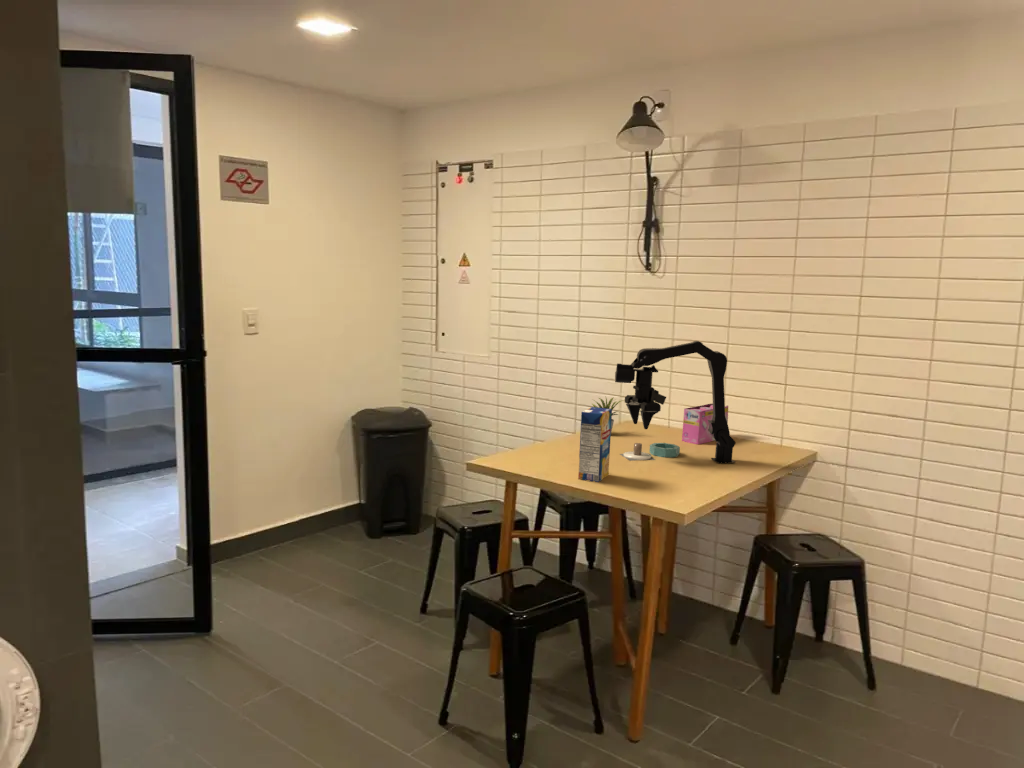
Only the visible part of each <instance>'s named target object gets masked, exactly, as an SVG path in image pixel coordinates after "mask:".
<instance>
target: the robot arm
mask: <svg viewBox="0 0 1024 768" xmlns="http://www.w3.org/2000/svg"><path fill="white" fill-rule="evenodd" d="M691 354H698V355H699V356H701V357H703V358H704V359H706V361H707V365H708V369H709V372H710V377H711V387H712V388H711V389H712V392H711V394H712V403H713V418H712V420H708V423H709V429H708V431H709V432H710V434H711V435H712V437H713V438H714V439H715V440H714V441H715V455H714V457H711V458H710V459H711V460H712V461H714V462H716V463H718V464H736V461H735V460H733V452H734V451H733V450H734V449H733V448H735V445H736V443H737V442H736V441H735V439H733V438H732V436H731V435H730V434H731V433H730V429H729V424H727V420H726V417H725V406H726V403H725V402H726V401H725V375H726V371H727V367H728V366H727V365H728V358H727V356H726V355H725V354H724V353H723V352H721V351H718V350H712V349H711V348H709V347H708V346H707V345H705V344H704V343H703V342H702V341H699V340H694V341H692V342H691V341H690V342H687V343H682V344H676V345H672V346H667V347H660V348H657V347H655V348H653V347H652V348H651V347H648V348H647V347H646V348H642V349H639V350H638V352H637V354H636V358H635V359H634V360H633V361H632V362H631V364H625V363H624V364H623V363H616V368H615V372H614V382H615V383H621V384H631V383H632V382H634V381H635V384H634V385H633V386H632V388H633V389H634V394H633V395H632V394H627V395H626V396H625V397H624V400H625V401H624V403H625V405H626V407H627V410H628V413H629V415H630V417H631V421H632V423H633V424H634V425H637V424H638V422H639V421H638V420H639V416H641V420H642V421H641V422H642V425H643V429H644V430H648V428H649V427H650V425H651V424H650V423H651V421H652V419H653V417H654V416H655V415H656V414H658V413H659V412H661V408H662V407H661V405H663V406H664V404H665V402H666V400H667V396H665V395H662V394H660V393H659V390H658V389H657V390H656V389H655V388H654V387H653V386H652V385H653V373H659V370H658V368H656V366H655V365H654V364H657V363H660V361H664V360H667V359H671V358H676V357H677V358H678V357H681V356H686V355H691ZM635 374H636V375H635Z"/></svg>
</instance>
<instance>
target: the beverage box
mask: <svg viewBox="0 0 1024 768" xmlns="http://www.w3.org/2000/svg"><path fill="white" fill-rule="evenodd" d="M597 407H598V406H597ZM597 407H594V406H592V407H588V408H587V409H585V410H583V411H581V414H580V415H581V417H580V437H579V453H578V478H577V480H579V479H583V480H582V481H586V480H590V481H589V482H593V481H595V483H600V482H601V481H602V480H604V479H605V478H606V477H608V476H609V473H610V457H611V456H610V455H611V453H610V452H611V451H610V450H611V435H612V432H611V419H613V418H612V417H613V416H612V413H613V410H612V409H611V408H609V409H606V408H600V407H598V408H597ZM604 477H605V478H604ZM603 478H604V479H603ZM599 481H600V482H599Z"/></svg>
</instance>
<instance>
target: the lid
mask: <svg viewBox="0 0 1024 768" xmlns="http://www.w3.org/2000/svg"><path fill="white" fill-rule="evenodd" d="M642 449H643V444H642V443H640V442H639V443H638V442H634V443H633V451H626V452H623V453H622V454H623V456H624V457H623V456H622V457H623V458H625V459H626V458H628V459H633V460H636V461H650V460H649V459H651V457H652V454H651V453H648V452H644V451H642ZM628 459H627V460H628Z"/></svg>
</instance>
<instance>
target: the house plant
mask: <svg viewBox="0 0 1024 768" xmlns="http://www.w3.org/2000/svg"><path fill="white" fill-rule="evenodd" d="M591 400H593V401H594V402H595V403H596V404H597V405H598V406H597V405H596V404H594V403H591V405H592V407H597V408H606V409H612V417H613V416H619V414H621V412H620V411H614V412H613V409H614V408H615V407H616V406H617V405H619V404H620V403H621V402H625V399H623V400H619V401H616V400H615V398H614V397H611V398H610V399H609V401H608V398H607V396H605V401H604V400H603V399H602V398H601V397H598V400H599V401H600V402H601V404H602V405H601V404H600V403H599V402H598V401H596V400H595V399H591ZM613 401H614V402H613ZM618 413H619V414H618ZM614 422H615V420H614V419H613V418H612V419H611V433H612V432H613V426H614Z"/></svg>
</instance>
